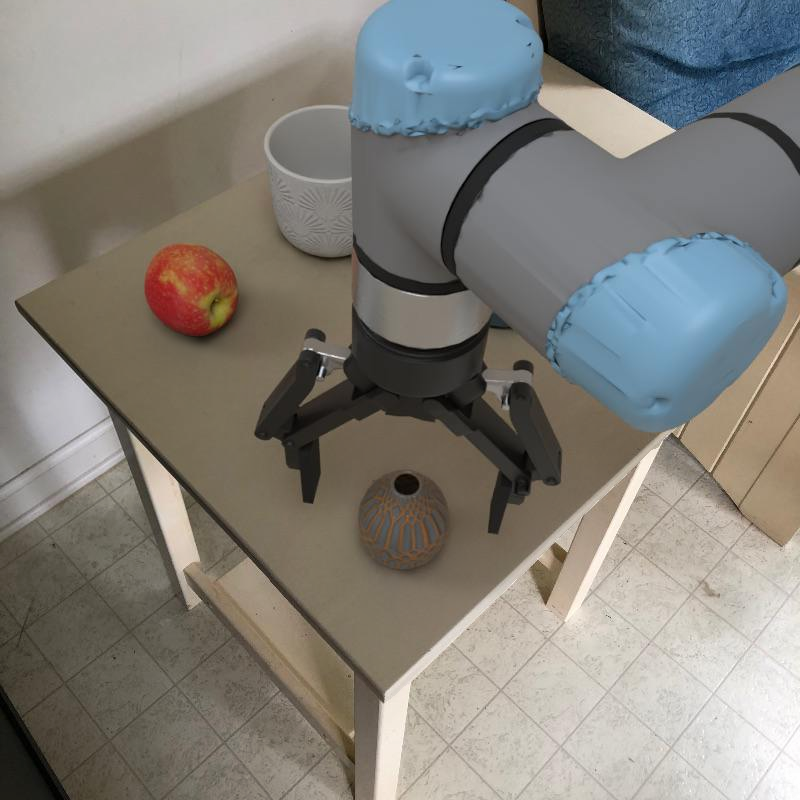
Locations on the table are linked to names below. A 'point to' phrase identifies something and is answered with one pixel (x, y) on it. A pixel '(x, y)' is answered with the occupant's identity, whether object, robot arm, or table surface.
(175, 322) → the apple
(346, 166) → the planter
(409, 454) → the table surface
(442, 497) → the vase
